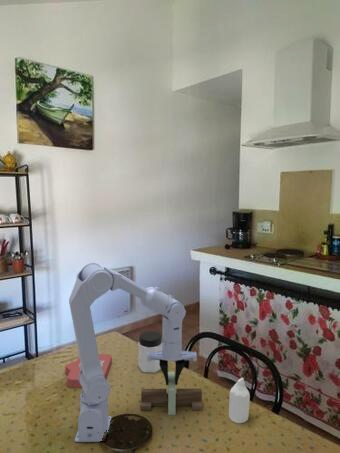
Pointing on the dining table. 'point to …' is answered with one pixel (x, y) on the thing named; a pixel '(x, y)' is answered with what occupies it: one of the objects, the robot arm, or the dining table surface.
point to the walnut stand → (161, 398)
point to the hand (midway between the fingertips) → (171, 383)
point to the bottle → (239, 402)
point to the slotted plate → (171, 393)
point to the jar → (149, 343)
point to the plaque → (74, 370)
